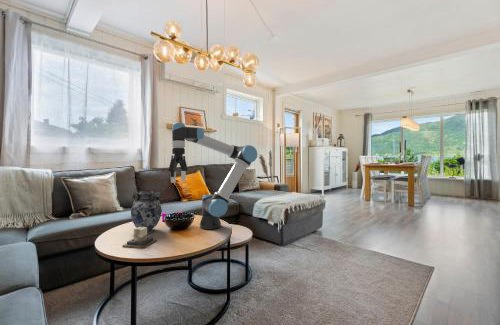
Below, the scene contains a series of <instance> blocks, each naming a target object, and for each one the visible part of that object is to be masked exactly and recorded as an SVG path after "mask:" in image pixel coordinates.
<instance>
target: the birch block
mask: <svg viewBox="0 0 500 325" xmlns="http://www.w3.org/2000/svg"><path fill="white" fill-rule="evenodd" d="M147 237H148V234H147V227H138V228H136V227H135V228H134V229H133V239H134V241H135V242H143V241H145V240H147Z"/></svg>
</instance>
